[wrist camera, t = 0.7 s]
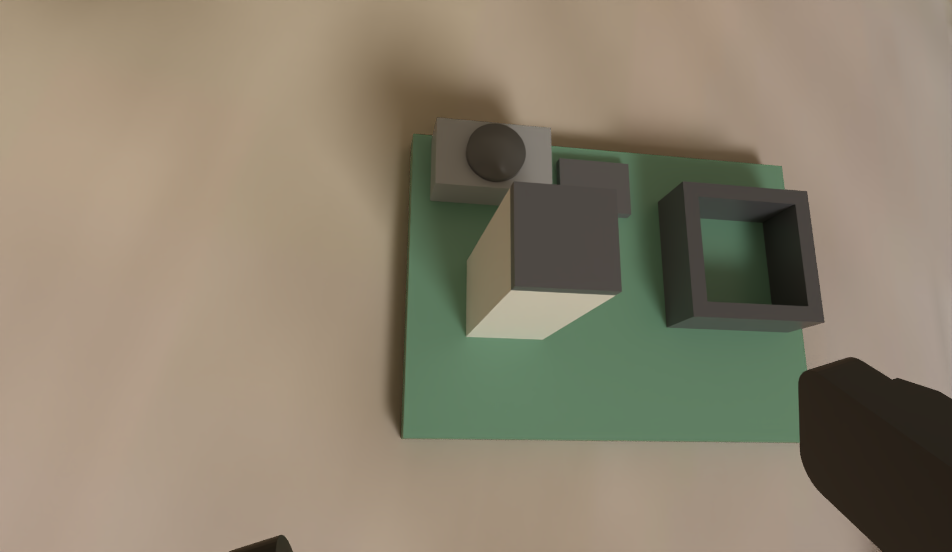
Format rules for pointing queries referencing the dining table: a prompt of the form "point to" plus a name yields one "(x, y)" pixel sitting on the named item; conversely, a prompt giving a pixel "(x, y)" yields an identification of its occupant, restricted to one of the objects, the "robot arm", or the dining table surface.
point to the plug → (543, 261)
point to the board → (612, 299)
